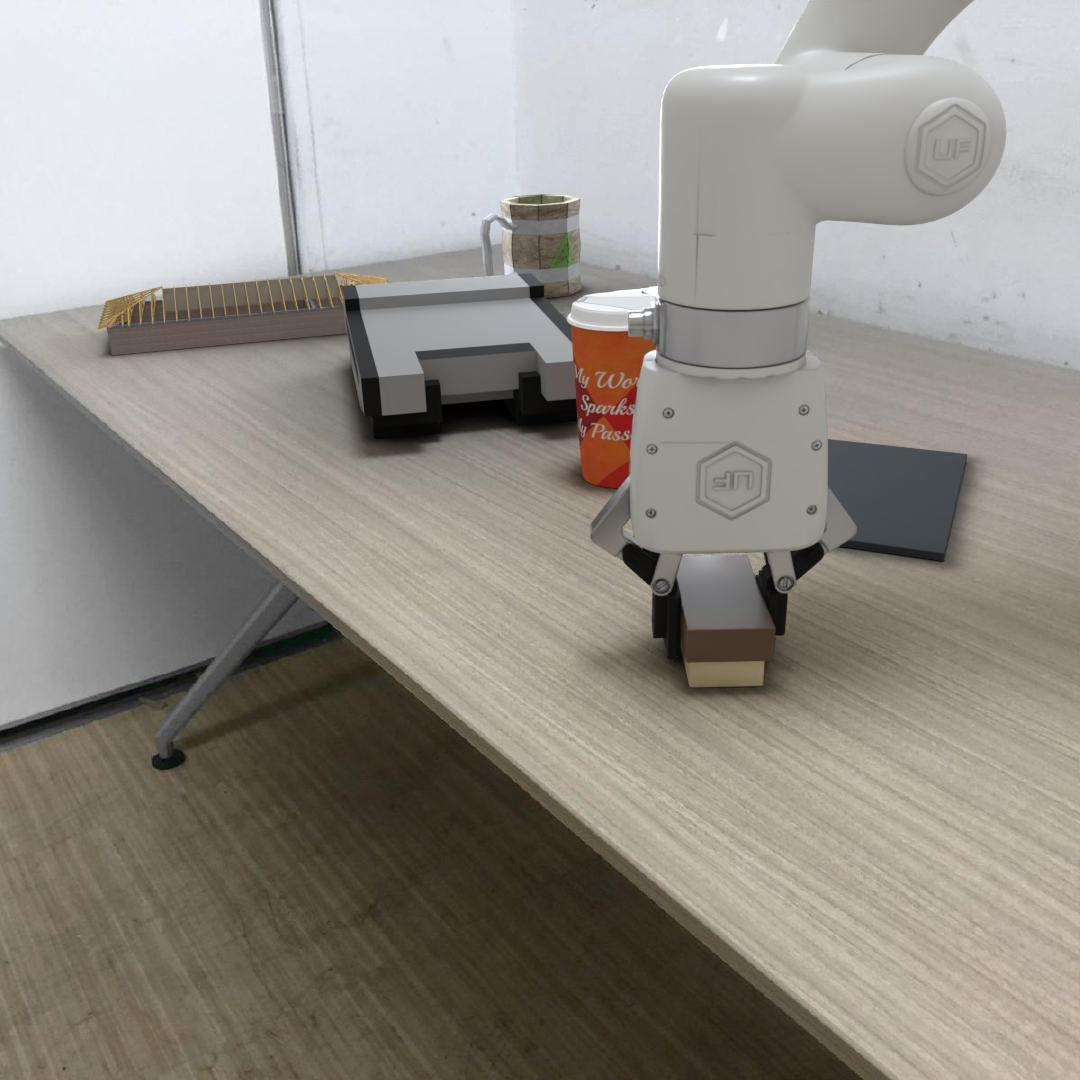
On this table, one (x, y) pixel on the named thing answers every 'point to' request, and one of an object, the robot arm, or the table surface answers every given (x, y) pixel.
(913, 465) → the mat
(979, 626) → the table surface
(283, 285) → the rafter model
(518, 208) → the mug
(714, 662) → the scrubber
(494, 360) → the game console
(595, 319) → the paper cup
